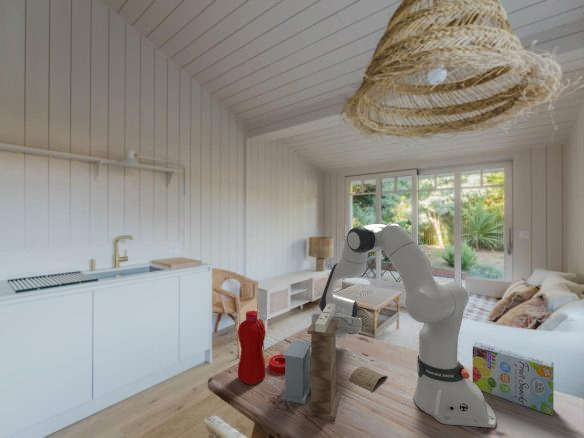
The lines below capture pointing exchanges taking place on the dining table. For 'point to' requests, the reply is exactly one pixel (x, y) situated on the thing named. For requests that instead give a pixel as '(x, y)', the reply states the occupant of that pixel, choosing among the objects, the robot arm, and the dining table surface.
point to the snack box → (514, 377)
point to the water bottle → (251, 349)
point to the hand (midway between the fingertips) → (334, 317)
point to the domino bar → (325, 318)
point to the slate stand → (297, 372)
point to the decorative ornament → (277, 364)
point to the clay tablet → (365, 378)
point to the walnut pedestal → (323, 372)
